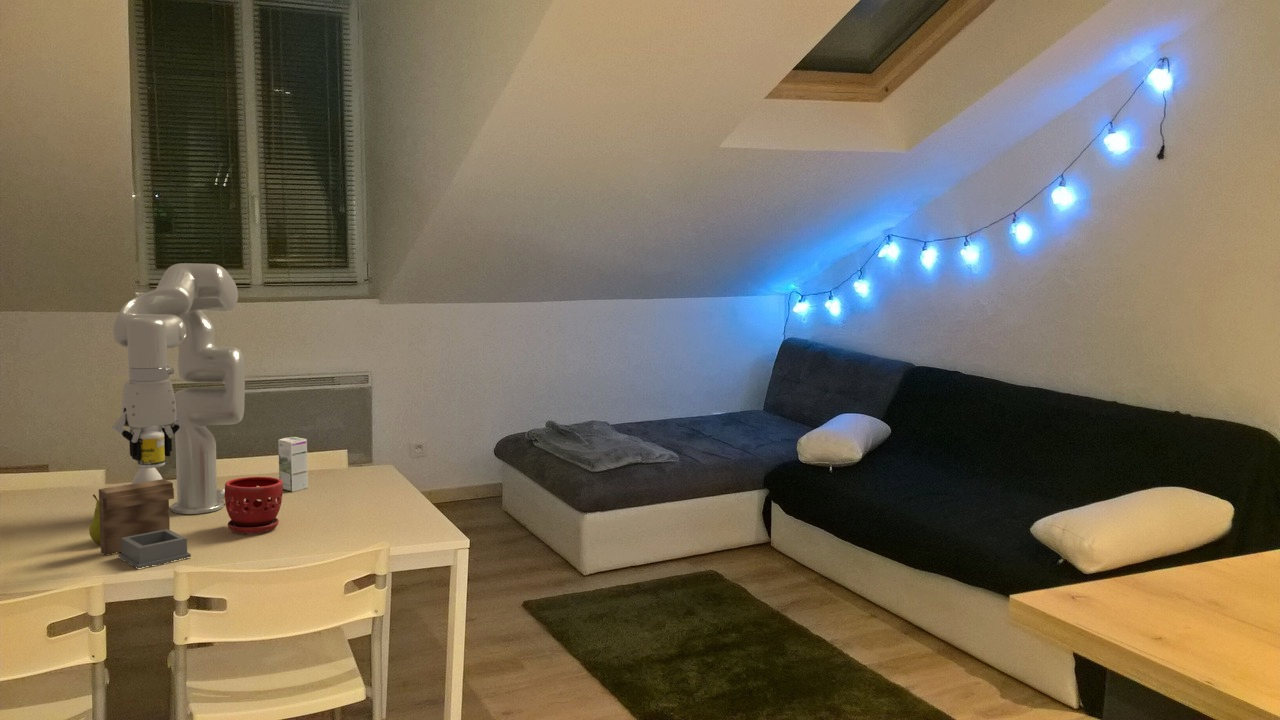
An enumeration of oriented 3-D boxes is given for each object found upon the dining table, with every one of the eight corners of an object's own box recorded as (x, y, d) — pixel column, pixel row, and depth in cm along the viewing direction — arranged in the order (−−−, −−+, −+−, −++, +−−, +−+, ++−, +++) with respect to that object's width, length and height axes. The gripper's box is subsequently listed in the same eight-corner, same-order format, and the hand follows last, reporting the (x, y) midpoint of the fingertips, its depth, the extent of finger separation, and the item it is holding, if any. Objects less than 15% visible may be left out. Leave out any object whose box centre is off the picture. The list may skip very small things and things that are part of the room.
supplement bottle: (131, 467, 210) (130, 422, 209) (149, 462, 215) (147, 418, 214) (154, 469, 209) (152, 424, 208) (170, 463, 214) (169, 420, 213)
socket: (169, 547, 222) (169, 527, 222) (190, 558, 215) (190, 538, 215) (118, 557, 214) (117, 537, 214) (138, 569, 207) (137, 549, 206)
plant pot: (277, 536, 233) (276, 487, 231) (219, 537, 230) (218, 488, 229) (288, 520, 245) (287, 474, 244) (233, 521, 243) (231, 474, 242)
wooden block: (165, 540, 227) (163, 478, 226) (175, 545, 224) (173, 483, 222) (101, 553, 217) (98, 489, 215) (110, 558, 213) (107, 493, 212)
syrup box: (308, 488, 277) (308, 438, 276) (291, 492, 272) (290, 441, 271) (295, 485, 280) (294, 435, 279) (278, 489, 275) (277, 439, 274)
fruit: (123, 540, 227) (121, 489, 225) (110, 547, 221) (108, 496, 219) (98, 539, 226) (95, 489, 225) (84, 547, 221) (82, 495, 219)
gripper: (181, 370, 219) (183, 449, 221) (98, 376, 206) (102, 460, 208) (196, 373, 214) (198, 454, 216) (112, 380, 201) (116, 466, 203)
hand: (151, 456), depth 212 cm, fingers closed on supplement bottle, 5 cm apart
